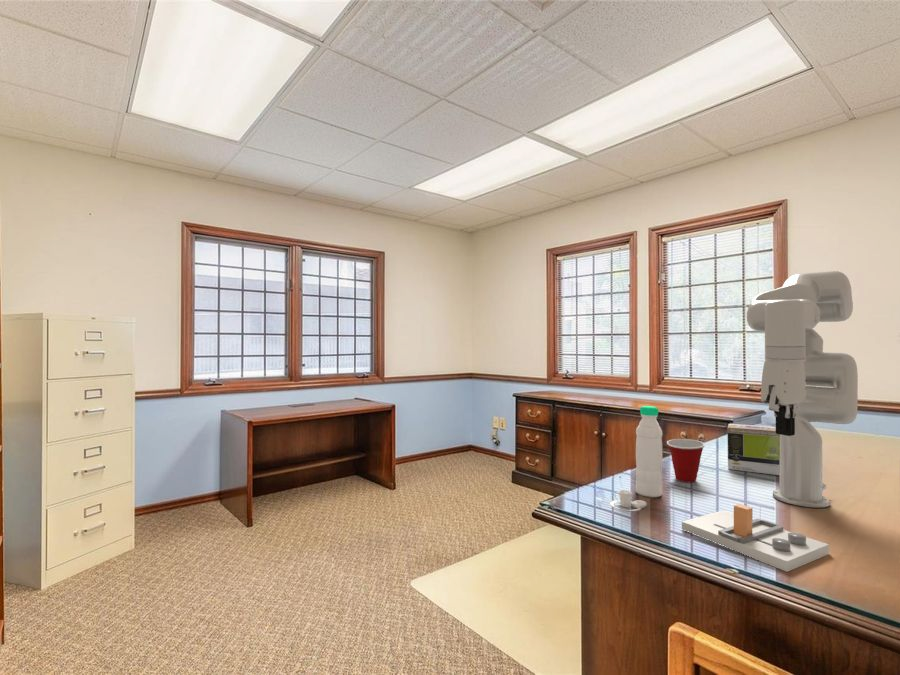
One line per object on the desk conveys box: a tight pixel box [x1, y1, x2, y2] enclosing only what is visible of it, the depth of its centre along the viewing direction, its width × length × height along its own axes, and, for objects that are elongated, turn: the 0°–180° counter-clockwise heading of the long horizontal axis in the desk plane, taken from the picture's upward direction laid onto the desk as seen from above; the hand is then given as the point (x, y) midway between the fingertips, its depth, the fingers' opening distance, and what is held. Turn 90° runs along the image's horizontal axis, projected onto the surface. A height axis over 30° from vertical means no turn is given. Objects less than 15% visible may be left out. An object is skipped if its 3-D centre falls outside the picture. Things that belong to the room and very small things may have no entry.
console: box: [681, 509, 830, 573], centre depth 103 cm, size 16×22×4 cm
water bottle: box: [635, 405, 663, 498], centre depth 134 cm, size 7×7×25 cm
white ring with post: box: [609, 489, 647, 512], centre depth 124 cm, size 9×8×4 cm
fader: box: [733, 503, 753, 537], centre depth 101 cm, size 2×3×6 cm
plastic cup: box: [666, 438, 705, 483], centre depth 148 cm, size 11×11×12 cm
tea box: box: [726, 423, 780, 476], centre depth 161 cm, size 15×10×15 cm
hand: (785, 434), depth 107 cm, fingers closed
